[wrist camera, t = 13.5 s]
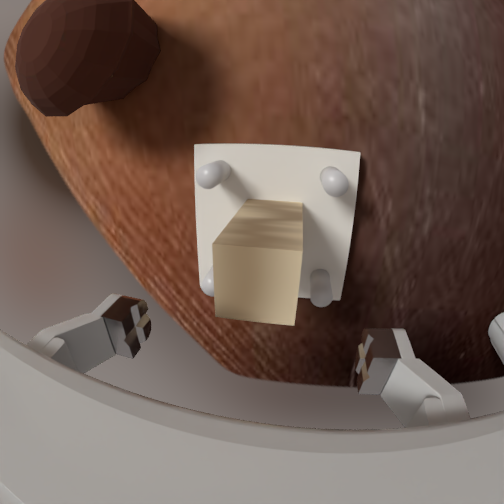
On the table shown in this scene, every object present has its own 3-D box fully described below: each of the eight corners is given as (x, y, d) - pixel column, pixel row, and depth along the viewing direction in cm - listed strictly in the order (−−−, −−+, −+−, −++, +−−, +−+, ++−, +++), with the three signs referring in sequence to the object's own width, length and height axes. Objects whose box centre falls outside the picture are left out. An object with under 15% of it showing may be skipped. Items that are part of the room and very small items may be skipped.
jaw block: (302, 202, 20) (302, 251, 12) (298, 253, 22) (294, 325, 14) (247, 198, 21) (212, 243, 13) (246, 248, 23) (215, 316, 14)
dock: (357, 151, 19) (370, 155, 15) (338, 294, 24) (343, 322, 20) (198, 143, 21) (178, 146, 17) (203, 281, 26) (188, 306, 22)
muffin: (196, 66, 18) (126, 30, 9) (98, 139, 22) (13, 155, 13) (144, -18, 15) (79, -59, 6) (62, 53, 18) (-12, 47, 9)
